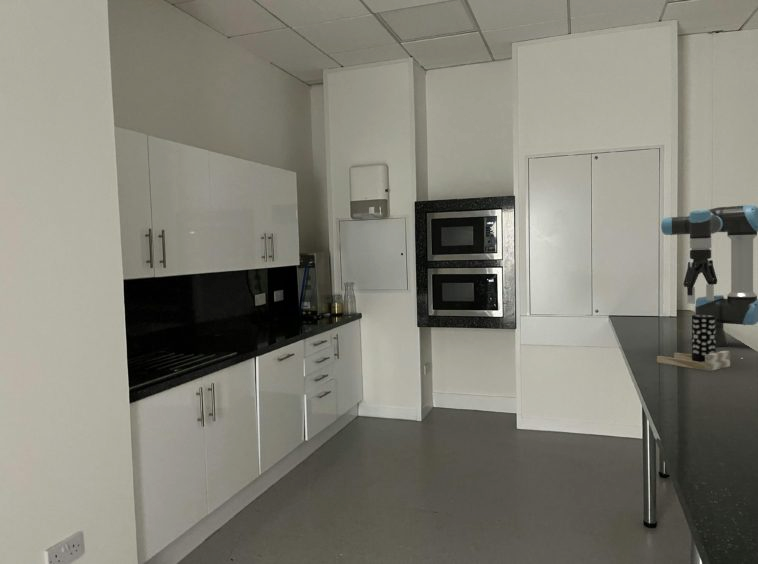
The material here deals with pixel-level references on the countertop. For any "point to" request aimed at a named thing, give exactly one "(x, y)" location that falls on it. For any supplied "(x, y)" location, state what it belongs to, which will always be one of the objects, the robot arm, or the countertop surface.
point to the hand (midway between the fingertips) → (700, 302)
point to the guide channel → (711, 362)
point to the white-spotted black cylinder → (703, 336)
